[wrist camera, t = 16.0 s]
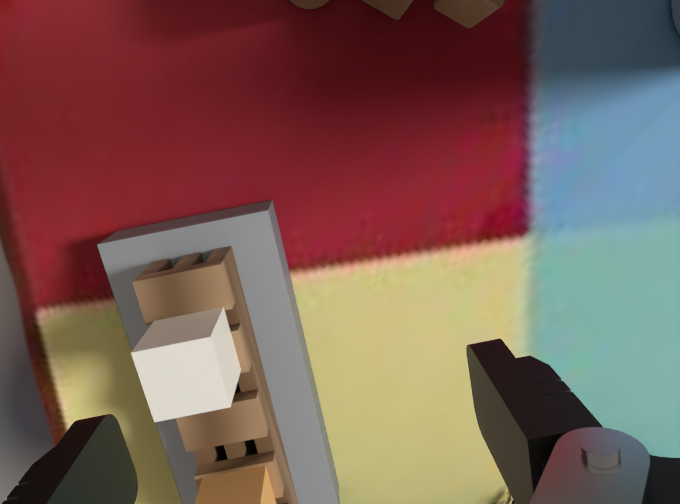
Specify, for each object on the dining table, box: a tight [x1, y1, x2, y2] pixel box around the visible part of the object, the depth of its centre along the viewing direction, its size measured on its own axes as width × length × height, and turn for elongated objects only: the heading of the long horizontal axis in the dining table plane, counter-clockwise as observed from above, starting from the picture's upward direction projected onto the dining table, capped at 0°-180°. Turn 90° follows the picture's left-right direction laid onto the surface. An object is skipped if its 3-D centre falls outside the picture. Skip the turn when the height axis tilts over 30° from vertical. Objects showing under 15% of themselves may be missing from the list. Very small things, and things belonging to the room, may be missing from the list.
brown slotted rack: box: [132, 246, 298, 504], centre depth 39 cm, size 6×22×4 cm, turn 11°
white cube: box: [131, 307, 241, 422], centre depth 33 cm, size 4×4×4 cm
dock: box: [97, 200, 340, 504], centre depth 43 cm, size 12×26×4 cm, turn 11°
